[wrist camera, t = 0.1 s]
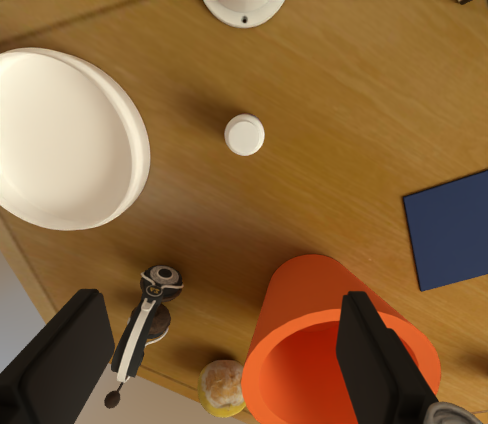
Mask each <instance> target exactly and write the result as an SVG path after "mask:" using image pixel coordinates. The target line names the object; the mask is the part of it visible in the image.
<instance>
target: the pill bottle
mask: <svg viewBox="0 0 488 424" xmlns="http://www.w3.org/2000/svg"><path fill="white" fill-rule="evenodd" d="M264 135H265V134H264V128H263V125H262V123H261V121H260V120H259V119H258V118H257V117H256V116H254V115H252V114H249V113H243V114H240V115H237V116H236V117H234V118H233V119H231V120H230V121H229V123H228V124H227V126H226V129H225V141H226V144H227V146H228V147H229V148H230V150H231V151H233V152H234V153H236V154H238V155H243V156H246V155H251V154H253V153H255V152H256V151H258V150H259V149H260V147H261V146H262V144H263V141H264Z"/></svg>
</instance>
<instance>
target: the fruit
mask: <svg viewBox="0 0 488 424" xmlns="http://www.w3.org/2000/svg"><path fill="white" fill-rule="evenodd" d="M243 368H244V366H243V365H242V364H241V363H240V362H238V361H236V360H235V361H234V360H232V361H231V360H216V361H214V362H211V363H209V364H207V365H206V366H205V367H204V368H203V370H202V371H201V373H200V375H199V379H198V386H197V390H198V397H199V400H200V403H201V405H202V406H203V408H204V409H205V410H206V411H207V412H208V413H209V414H211V415H213V416H216V417H224V418H225V417H230V416H233V415H235V414H237V413H238V412H240V411H241V410H242V409H243V408H244V407H245V405H246V403H245V401H244V398H243V395H242V387H241V380H242V373H243Z"/></svg>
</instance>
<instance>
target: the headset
mask: <svg viewBox="0 0 488 424" xmlns="http://www.w3.org/2000/svg"><path fill="white" fill-rule="evenodd" d="M141 275H142V278H141V281H140V286H141V289H142V292H143V294H142V297H141V302H140V303H139V305H138V306H137V307H136V308H135V309H134V310H133V311H132V313H131V317H129V320H128V322H127V324H128V325H127V327H126V329H125V331H124V333H123V335H122V337H121V339H120V341H119V343H118V346H117V348H116V351H115V353H114V356H113V359H112V364H111V370H112V371H113V372H117V373H118V375H117V380H118V381H120V382H122V383H121V384H120V386H119V388H118V389H117V391H112V392H110V393H109V394H107V396H106V398H105V400H104V401H105V406H106V407H107V408H109V409H110V408H114V407H115V406H116V405H117V404H118V403H119V401H120V394H119V390H120V389H121V387H122V385H123V383H125V382H126V381H127V380H128V379H129V377H130V376H131V377H135V376H136V373H137V370H138V367H139V366H140V365H141V362H142V360H143V357H144V348H145V346H146V345H148V344H151V343H154V342H156V341H158V340H160V339H161V338H162V337H164V336H165V335H166V333H167V331H168V326H169V325H170V321H171V317H170V314H169V310H168V309H167V308H166V307H165V306H164V305H162V304H161V302H167V301H171V300H173V299H174V298H176V297H177V296H178V295H179V294H180V293H181V291H182V288H183V287H184V286H183V284H182V283H183V282H182V277H181V274H180V273H179V272H178V271H177V270H175V269H174V268H172V267H169V266H164V265H156V266H153V267H150V268H149V269H148V270H145V272H142V273H141ZM164 331H165V333H164V334H163V332H164ZM162 334H163V335H162ZM160 335H162V336H161V337H159V336H160ZM157 337H159V338H157ZM153 338H157V339H155V340H153V341H150V342H147V343H146V341H147V339H153Z"/></svg>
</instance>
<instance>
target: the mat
mask: <svg viewBox="0 0 488 424" xmlns="http://www.w3.org/2000/svg"><path fill="white" fill-rule="evenodd" d="M403 201H404V206H405V211H406V216H407V222H408V227H409V232H410V238H411V243H412V248H413V253H414V259H415V264H416V269H417V275H418V280H419V285H420V290H421V292H422V291H426V290H430V289H433V288H437V287H441V286H445V285H448V284H452V283H456V282H460V281H463V280H467V279H471V278H475V277H478V276H482V275H486V274H488V170H486V171H483V172H480V173H477V174H474V175H470V176H467V177H464V178H461V179H458V180H455V181H452V182H449V183H446V184H442V185H439V186H436V187H433V188H430V189H427V190H424V191H421V192H418V193H415V194H411V195H408V196H405V197H403Z"/></svg>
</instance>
